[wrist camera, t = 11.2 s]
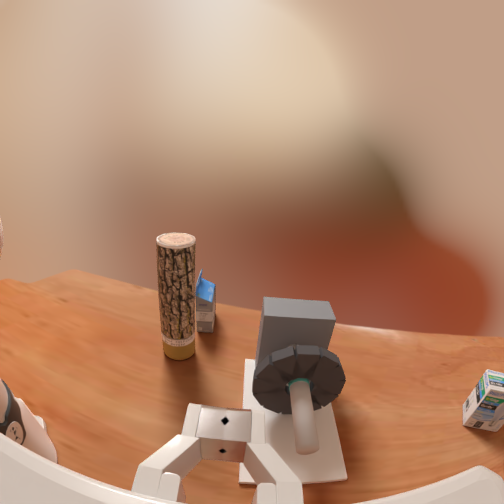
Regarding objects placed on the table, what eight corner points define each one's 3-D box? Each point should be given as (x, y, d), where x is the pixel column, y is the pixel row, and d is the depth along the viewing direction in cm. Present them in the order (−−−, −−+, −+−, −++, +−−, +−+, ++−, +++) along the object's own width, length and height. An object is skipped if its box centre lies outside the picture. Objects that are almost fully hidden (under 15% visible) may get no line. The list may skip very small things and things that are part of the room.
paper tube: (201, 354, 58) (203, 241, 49) (174, 366, 54) (167, 248, 45) (184, 337, 63) (182, 230, 54) (157, 347, 58) (149, 236, 49)
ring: (249, 412, 43) (258, 351, 38) (249, 403, 45) (258, 342, 39) (330, 413, 43) (356, 354, 38) (329, 405, 45) (352, 346, 40)
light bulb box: (462, 426, 38) (489, 389, 34) (461, 404, 43) (485, 367, 39) (498, 432, 33) (526, 396, 29) (495, 411, 39) (520, 376, 35)
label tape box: (212, 333, 65) (214, 287, 61) (195, 331, 65) (195, 285, 61) (215, 312, 74) (217, 269, 69) (199, 311, 73) (200, 268, 69)
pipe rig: (238, 483, 31) (248, 429, 26) (245, 361, 57) (252, 295, 52) (345, 480, 32) (389, 423, 26) (320, 365, 58) (338, 302, 52)
